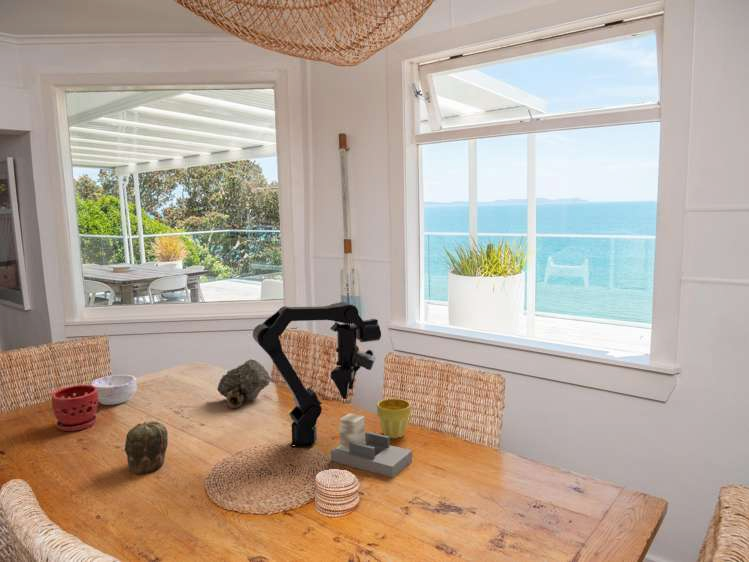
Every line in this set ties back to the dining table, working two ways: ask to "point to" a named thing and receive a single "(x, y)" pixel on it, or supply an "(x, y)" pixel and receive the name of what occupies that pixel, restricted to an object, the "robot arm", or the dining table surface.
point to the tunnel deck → (373, 455)
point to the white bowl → (115, 388)
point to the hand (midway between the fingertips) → (347, 393)
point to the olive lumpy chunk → (146, 447)
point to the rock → (243, 383)
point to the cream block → (352, 430)
